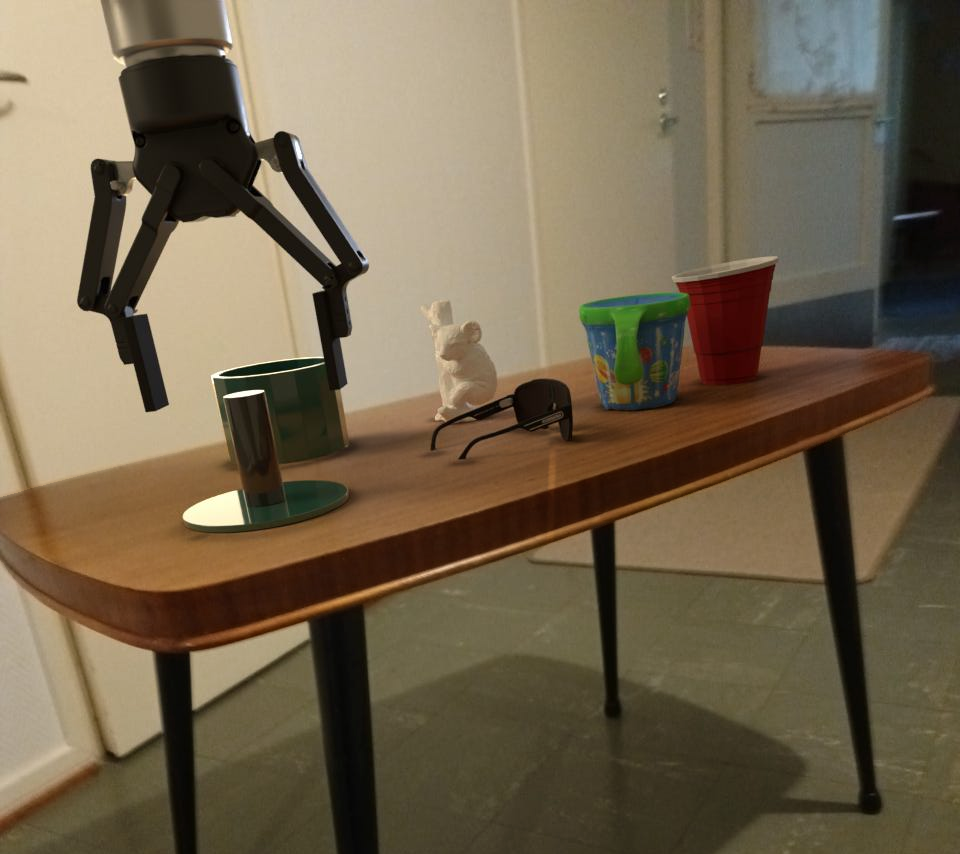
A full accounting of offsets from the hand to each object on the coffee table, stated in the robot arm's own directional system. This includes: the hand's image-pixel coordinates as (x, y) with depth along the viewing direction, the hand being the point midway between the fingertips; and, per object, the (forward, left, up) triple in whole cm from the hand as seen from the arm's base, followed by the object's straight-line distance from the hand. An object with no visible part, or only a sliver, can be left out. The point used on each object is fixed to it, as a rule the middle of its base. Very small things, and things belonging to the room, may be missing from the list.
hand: (247, 398), depth 71 cm
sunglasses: (+17, +16, -9) cm, 25 cm away
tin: (-4, +22, -9) cm, 24 cm away
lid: (0, 0, -8) cm, 8 cm away
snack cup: (+30, +30, -9) cm, 43 cm away
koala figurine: (+12, +32, -9) cm, 35 cm away
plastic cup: (+40, +39, -9) cm, 56 cm away
